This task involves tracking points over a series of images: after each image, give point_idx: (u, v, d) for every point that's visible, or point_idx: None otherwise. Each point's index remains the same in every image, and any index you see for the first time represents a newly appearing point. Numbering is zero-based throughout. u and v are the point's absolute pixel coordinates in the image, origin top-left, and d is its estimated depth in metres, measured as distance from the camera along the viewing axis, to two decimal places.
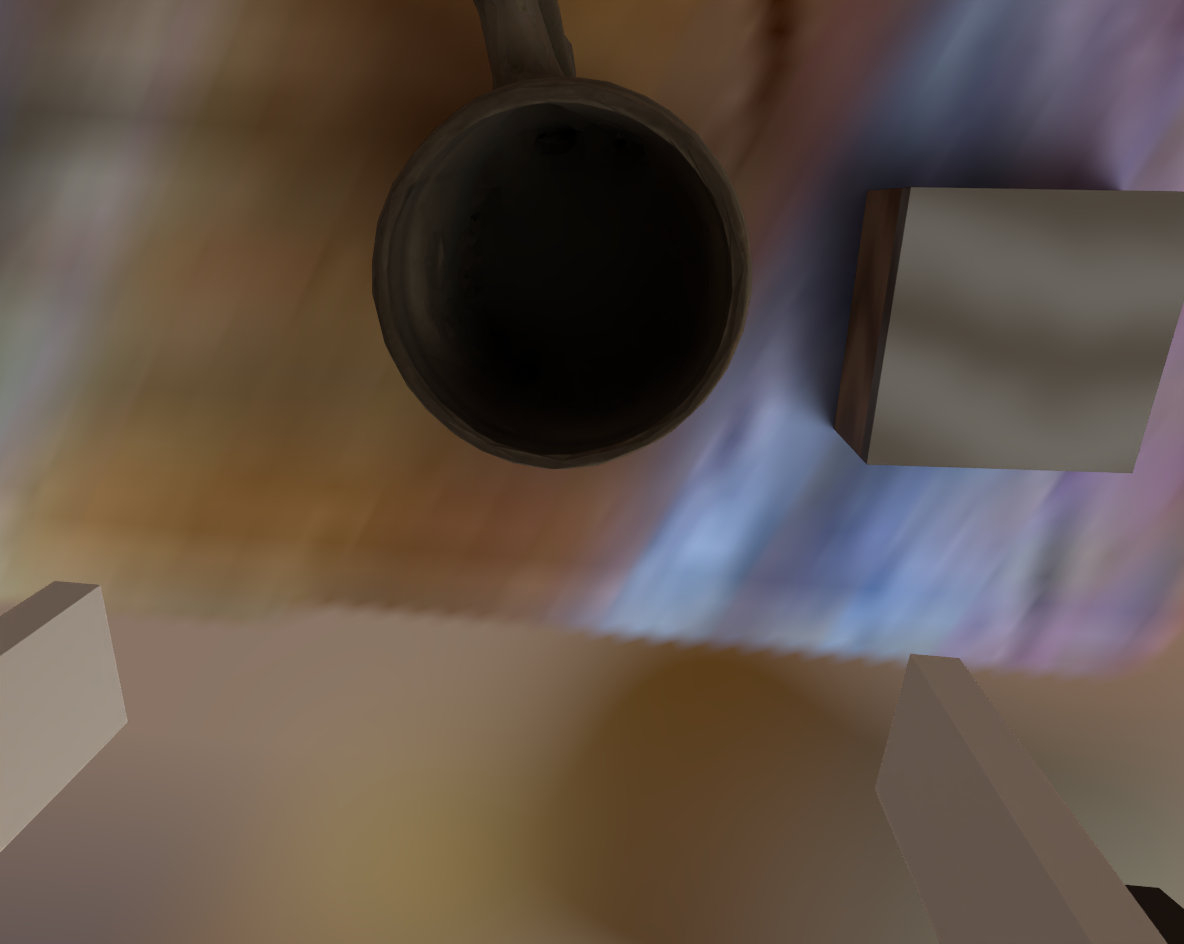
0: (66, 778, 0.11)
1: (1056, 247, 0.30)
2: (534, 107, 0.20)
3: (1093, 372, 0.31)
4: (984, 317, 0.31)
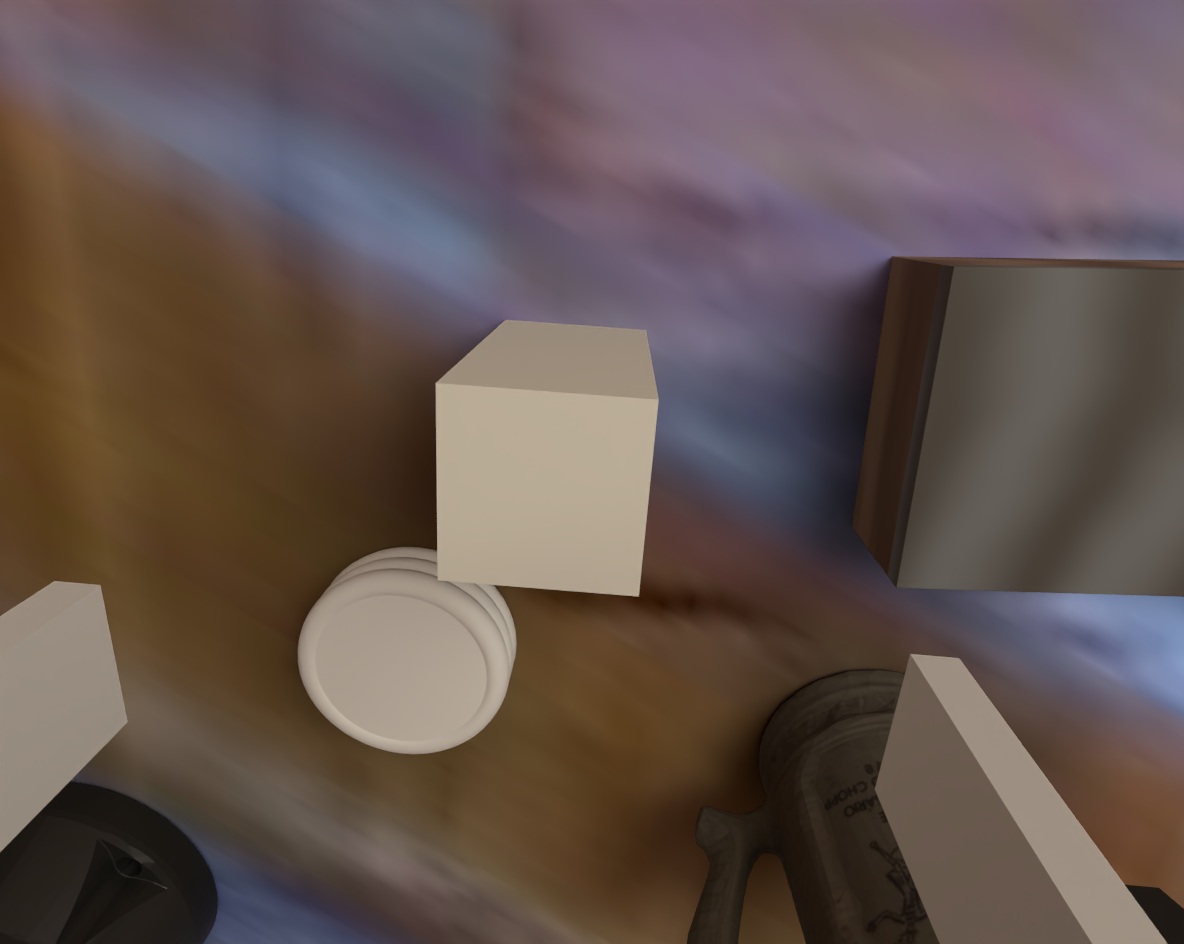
0: (65, 778, 0.11)
1: (987, 433, 0.25)
2: None
3: (1159, 358, 0.24)
4: (1056, 496, 0.26)
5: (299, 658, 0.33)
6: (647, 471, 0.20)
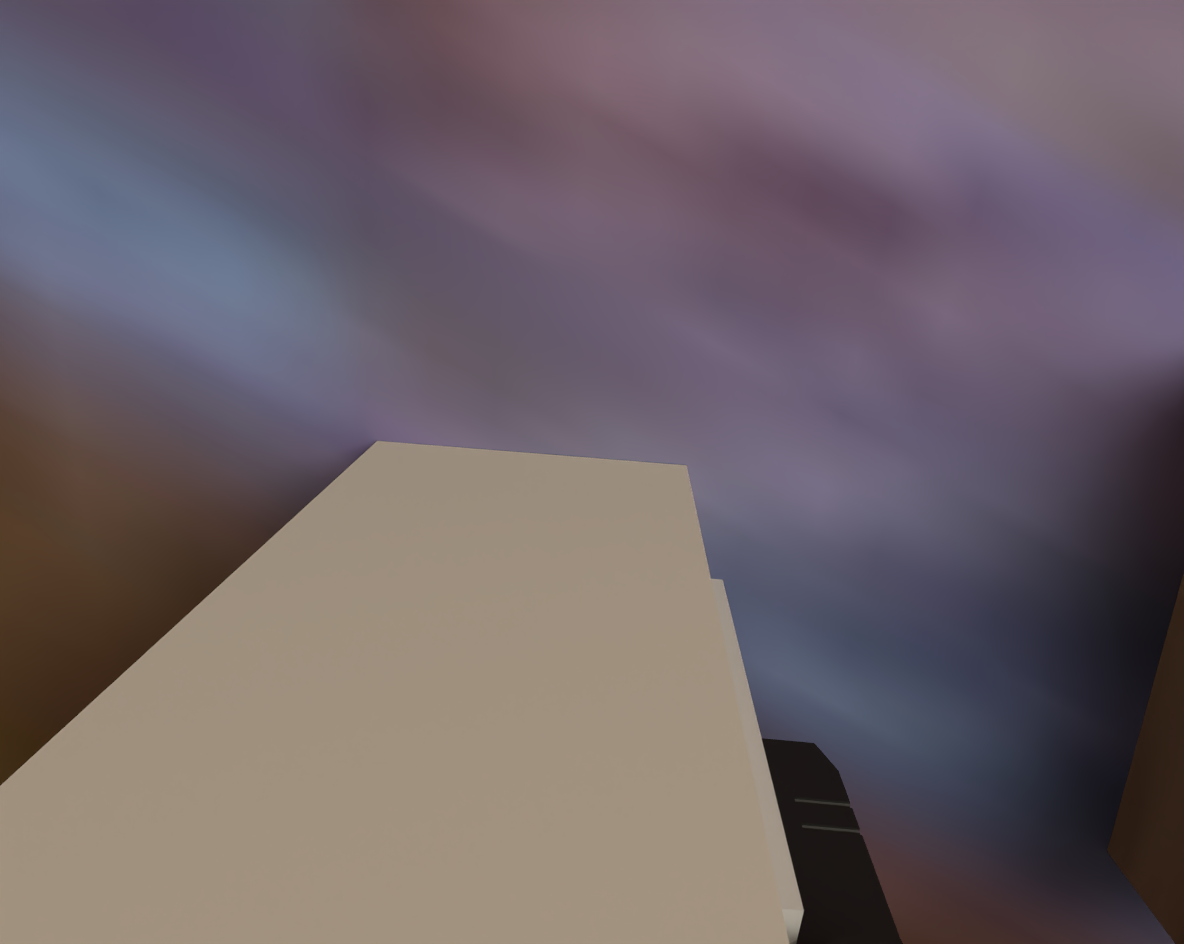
0: None
1: None
2: None
3: None
4: None
5: None
6: None
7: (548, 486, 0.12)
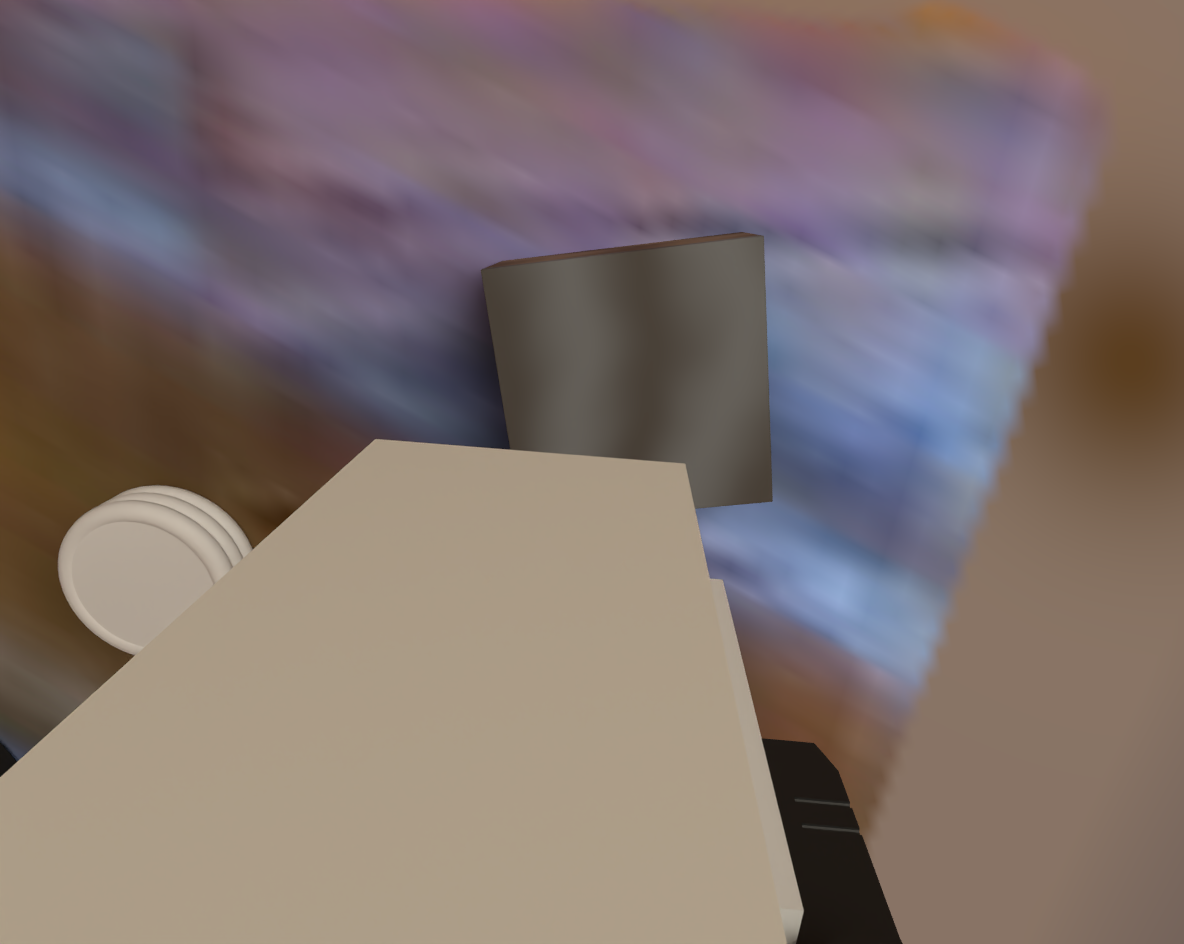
0: None
1: (550, 393, 0.32)
2: None
3: (659, 318, 0.31)
4: (619, 435, 0.33)
5: (59, 576, 0.40)
6: None
7: (546, 484, 0.12)
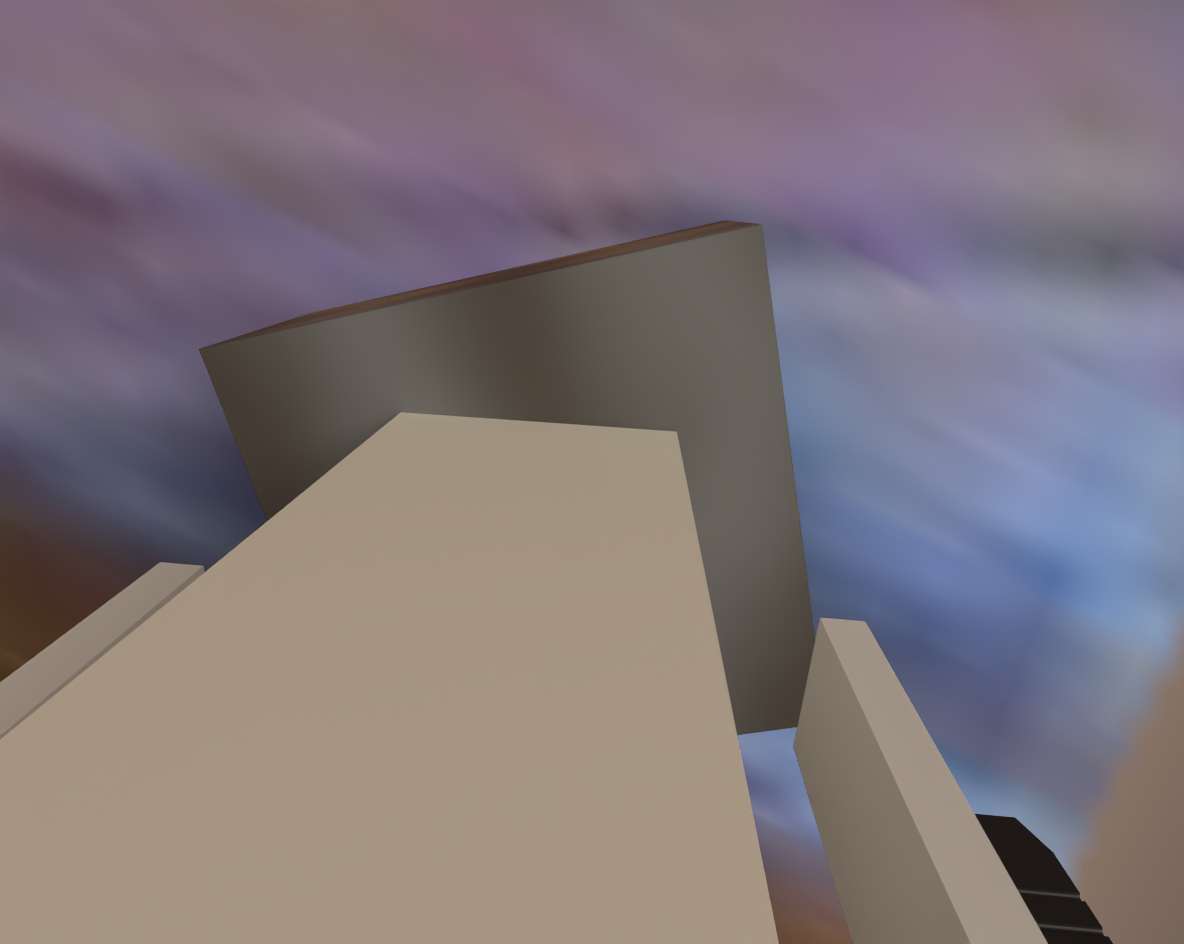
0: None
1: None
2: None
3: (564, 411, 0.15)
4: None
5: None
6: None
7: (553, 446, 0.14)
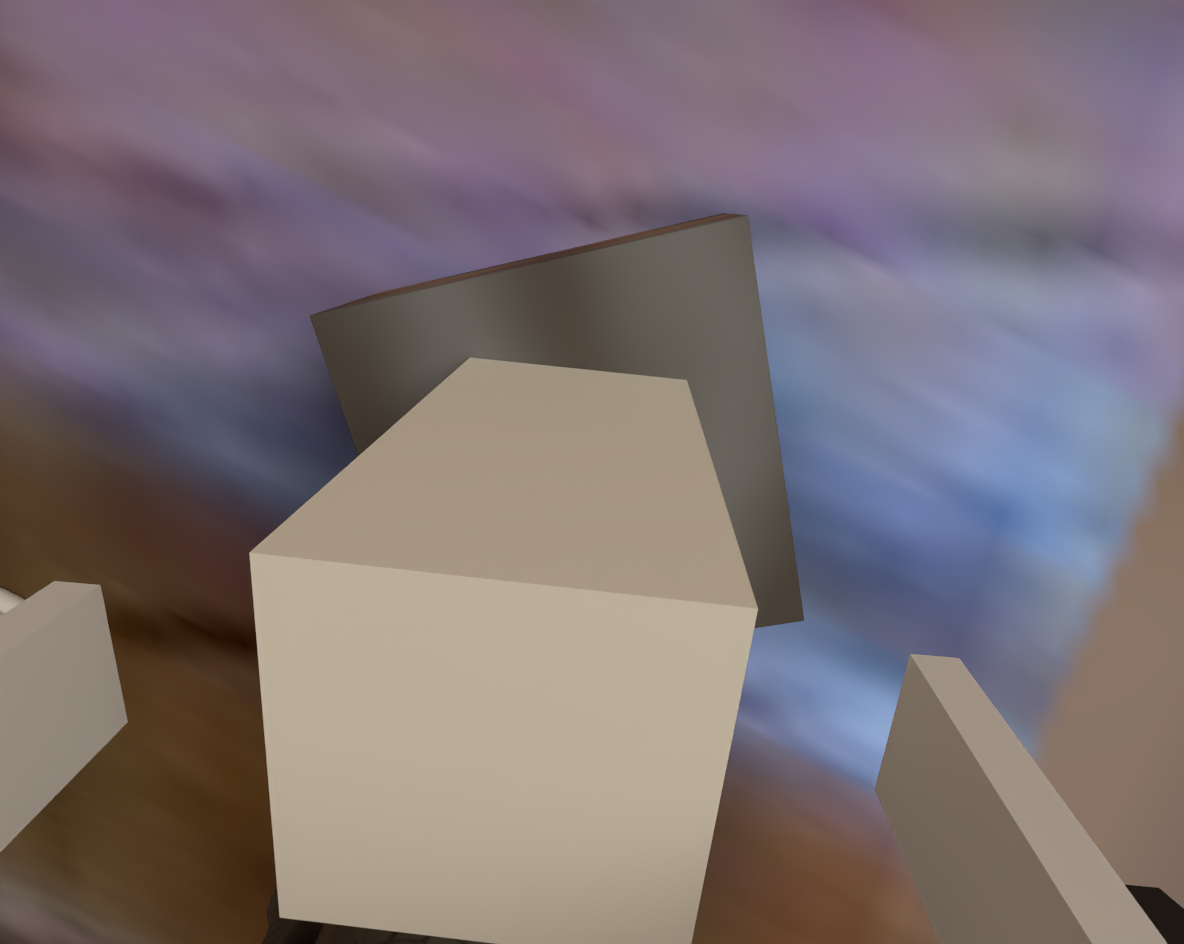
0: (65, 778, 0.11)
1: None
2: None
3: (594, 363, 0.20)
4: None
5: None
6: (721, 749, 0.09)
7: (593, 384, 0.18)
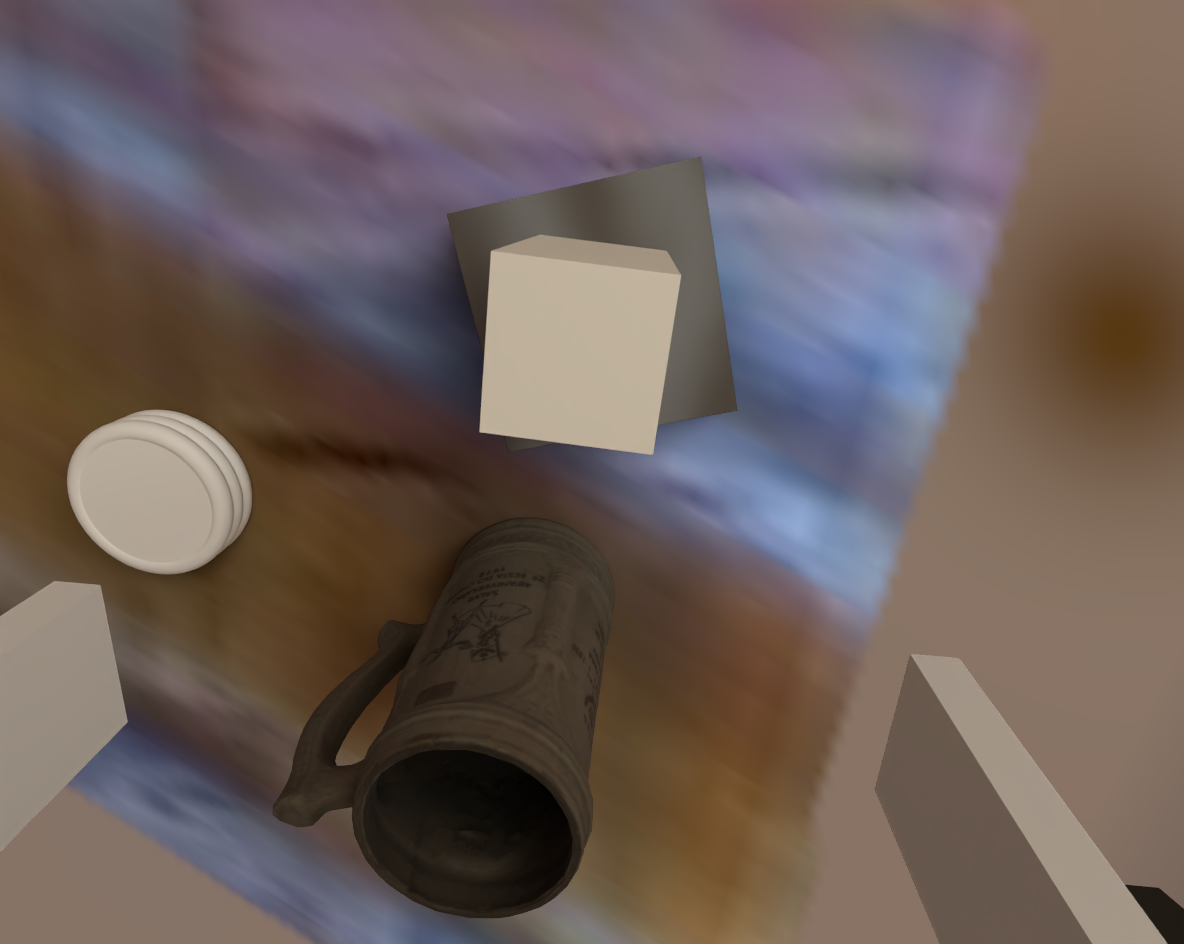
0: (65, 778, 0.11)
1: None
2: None
3: None
4: None
5: (68, 490, 0.43)
6: (667, 339, 0.23)
7: (613, 246, 0.32)
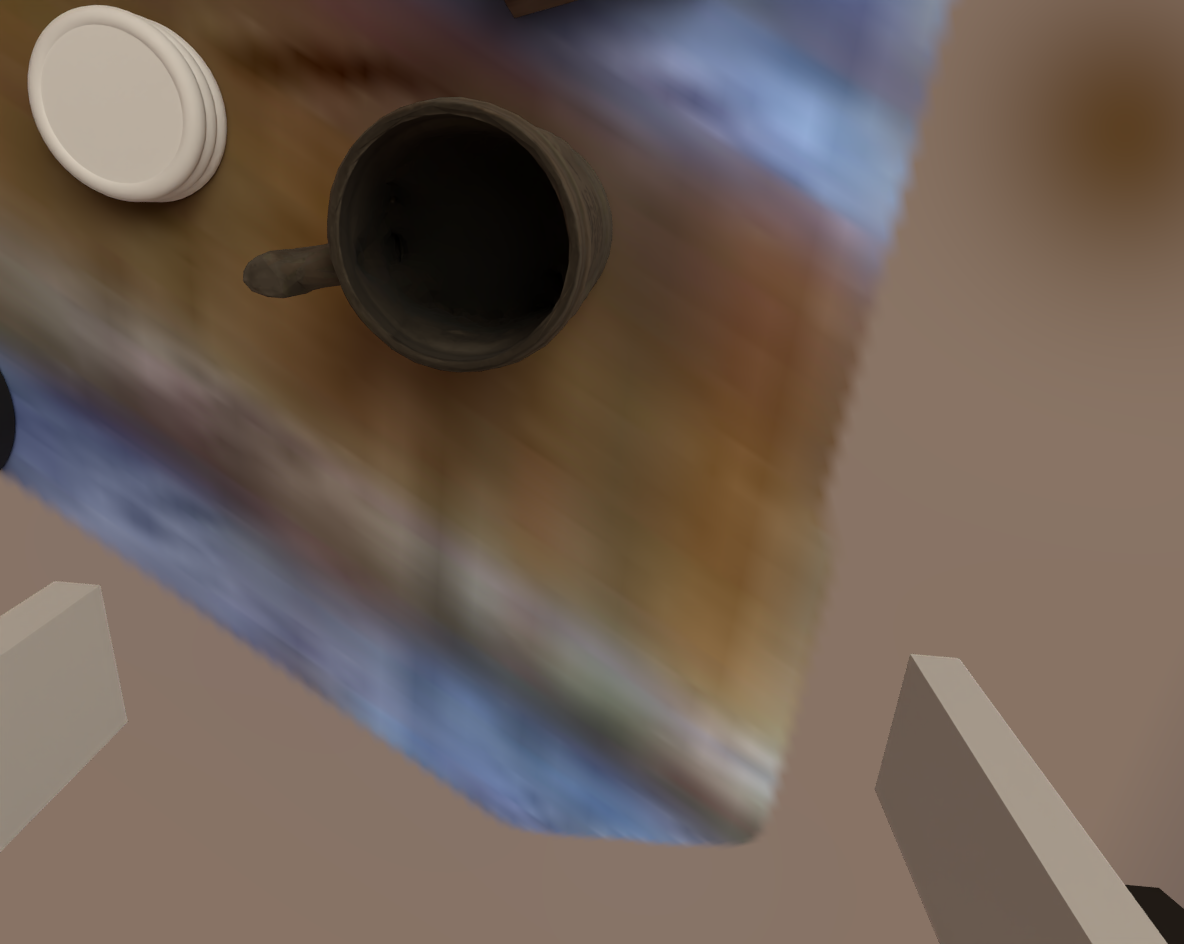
0: (66, 778, 0.11)
1: None
2: (369, 259, 0.31)
3: None
4: None
5: (29, 94, 0.40)
6: None
7: None
